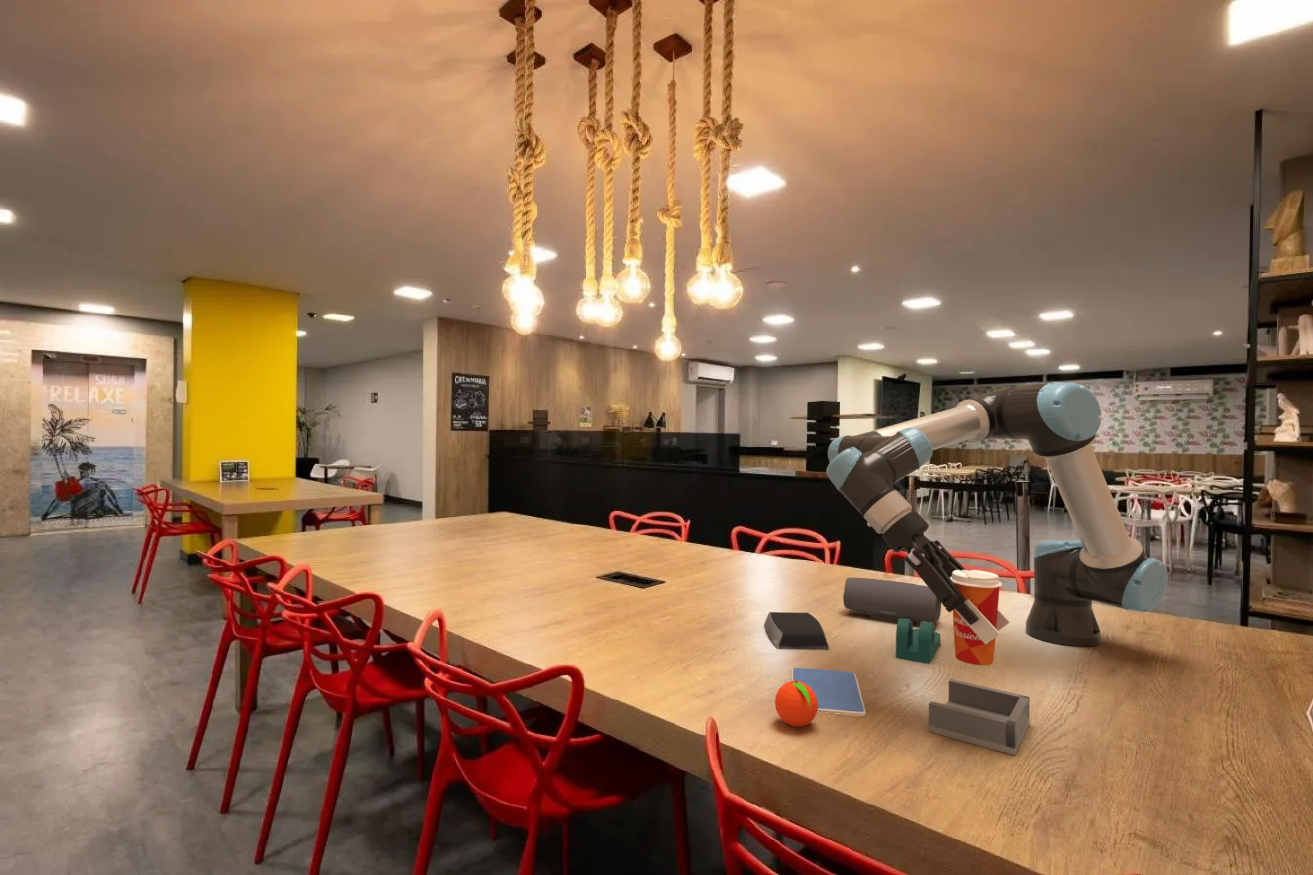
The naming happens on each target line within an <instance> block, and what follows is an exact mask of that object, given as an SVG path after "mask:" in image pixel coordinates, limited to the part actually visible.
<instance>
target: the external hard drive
mask: <svg viewBox="0 0 1313 875" xmlns="http://www.w3.org/2000/svg"><path fill="white" fill-rule="evenodd" d="M763 627H764V630H765V634H766V636H767V638H768V640H769V641H770V643H771V644H772V646H774V648H775V649H776V650H803V651H804V650H806V651H808V650H809V651H812V650H813V651H814V650H815V651H816V650H817V651H829V650H830V646H829V644H828V641H827V637H826V634H825V632H824V629H823V627H822V625H821V623H820V621H819V620H818V619H817V618H816V617H815V616H814V615H812V614H810V612H792V611H791V612H785V611H780V612H778V611H768V614H767V616H766V618H765V621H764V626H763Z"/></svg>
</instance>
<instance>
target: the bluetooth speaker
mask: <svg viewBox="0 0 1313 875" xmlns="http://www.w3.org/2000/svg"><path fill="white" fill-rule="evenodd" d="M842 597H843V598H842V602H843V605H844V606H843V607H844V608H845V609H848V610H851V611H855V612H858V613H859V612H860V613H864V614H869V617H870V618H872V617H873V618H872V619H876V618H877V620H881V619H882V621H883V620H884V621H887V622H894V623H898V620H899V618H903V619H910V620H912V623H913V622H914V621H915V622H916V621H917V622H921V621H923V622H930V623H938V622H939V620H940V618H941V614H942V613H941V612H942V603H941V602H940V601H939V599H938V598H937V597H936V596H935V594H934V593H933V592H932V591H931V590H930V588H929V587H928V586H927V585H922V584H916V583H909V582H904V581H903V582H901V581H896V580H885V579H877V578H865V577H847V578H846V579H845V582H844V590H843V596H842Z"/></svg>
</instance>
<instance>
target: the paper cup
mask: <svg viewBox="0 0 1313 875" xmlns="http://www.w3.org/2000/svg"><path fill="white" fill-rule="evenodd" d="M950 579H951V580H952V582H953V583H954V584H955V586H956V587H957V588H958V590H959V591H960V593H961V594H962V595H963V597H964V598H965V600H968V599H969V600H970V601H971V602H972V603H973V604H974V605H975V607H976V608H977V609H978V610H979V611H980V612H981V613H982V614H983V615H984V616H985V617H986V619H987V620H988V621H989V622H990V623H991V624H992V625H993V626H994V627H995V628H996V626H997V613H998V609H999V598H1000V587H1002V585H1003V583H1002V582H1001V581H1000V577H999V575H998V574H996V573H993V572H989V571H984V570H979V569H970V570H968V569H966V570H961V571H960V570H955V571H953V572H952V577H950ZM964 602H965V601H964ZM952 621H953V624H952V625H953V638H954V640H953V642H954V655H955V658H956V659H957V660H958V661H960V662H962V663H966V664H969V665H975V666H990V665H992V664H993V663H994V659H995V658H994V657H995V649H996V648H995V646H996V638H997V637H996V638H994V639H993V640H992V641H990V642H989V643H987V644H985V643H984V642H983V641H982V640H981V639H980V638H979V637H978V636H977V634H976V633H975V632H974V631H973V630H972V629H971V628H970V627H969V626H968V625H967V623H966V622H965V621H964V620H963V619H962V618H961V617H960V616H959V615H958V613H957V612H956V611H955V609H954V610H953V611H952Z"/></svg>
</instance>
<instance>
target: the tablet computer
mask: <svg viewBox="0 0 1313 875" xmlns="http://www.w3.org/2000/svg"><path fill="white" fill-rule="evenodd" d="M790 672H791V674H790V677H791V678H790V681H800V682H803V683H805V684H806V685H808V686H809V687H810V688H811V689H812V690H813V691H814V693H815V695H816V697H817V700H818V711H819V712H828V713H840V714H851V715H858V716H857V717H859V716H864V715H866V716H867V711H866V707H865V702H864V701H863V696H862V692H861V688H860V684H859V681H858V678H857V673H855V672H853V671H846V670H845V671H844V670H832V669H821V668H820V669H819V668H818V669H817V668H808V667H807V668H806V667H792V668H791V670H790ZM828 713H827V714H828ZM864 717H865V716H864Z"/></svg>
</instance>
